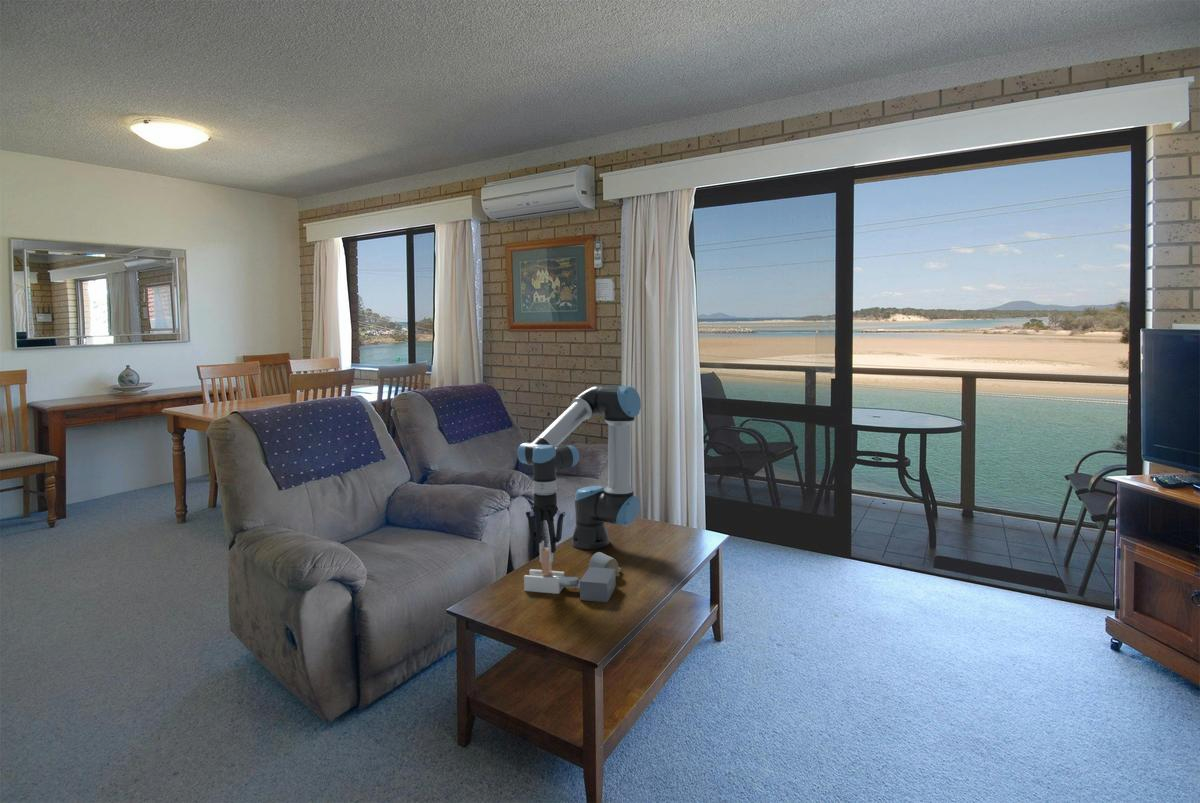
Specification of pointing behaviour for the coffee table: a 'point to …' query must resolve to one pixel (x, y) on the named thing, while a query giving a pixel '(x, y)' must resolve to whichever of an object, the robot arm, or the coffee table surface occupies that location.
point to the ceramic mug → (604, 562)
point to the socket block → (597, 584)
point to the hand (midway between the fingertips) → (546, 561)
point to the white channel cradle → (542, 582)
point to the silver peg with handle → (564, 580)
